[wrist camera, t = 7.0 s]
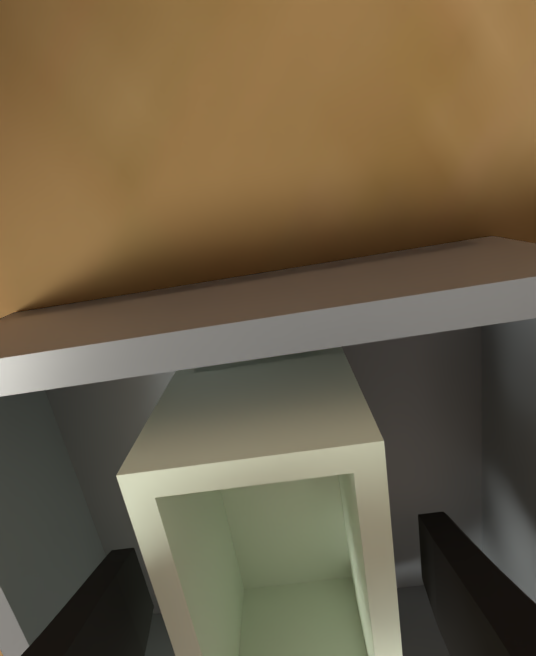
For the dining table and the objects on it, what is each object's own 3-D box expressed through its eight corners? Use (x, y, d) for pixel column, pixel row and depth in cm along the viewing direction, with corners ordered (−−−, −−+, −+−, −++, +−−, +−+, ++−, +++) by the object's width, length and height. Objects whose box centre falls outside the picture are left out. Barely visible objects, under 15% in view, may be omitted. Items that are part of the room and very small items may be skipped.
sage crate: (340, 344, 12) (384, 441, 7) (366, 573, 15) (410, 752, 10) (177, 368, 12) (115, 475, 8) (232, 588, 15) (213, 768, 10)
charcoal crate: (492, 235, 12) (637, 260, 7) (490, 569, 16) (583, 728, 11) (13, 312, 13) (-140, 379, 8) (123, 609, 17) (63, 771, 12)
